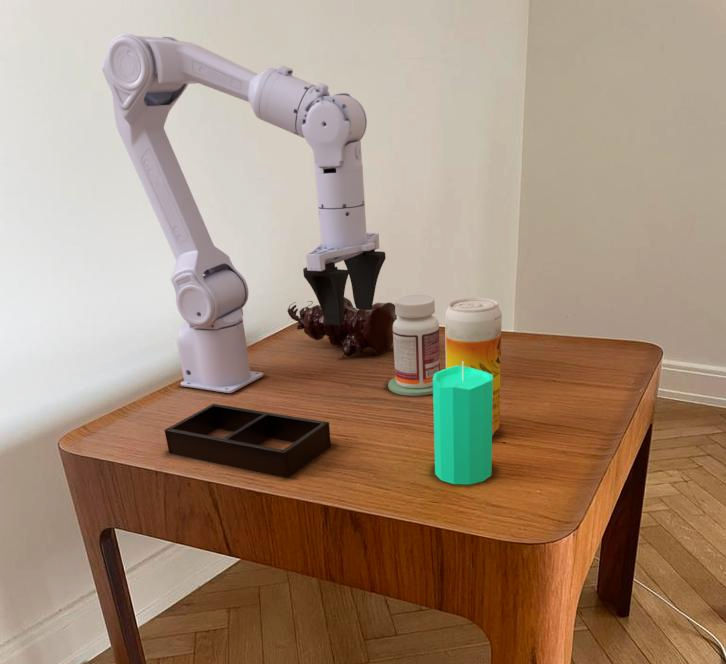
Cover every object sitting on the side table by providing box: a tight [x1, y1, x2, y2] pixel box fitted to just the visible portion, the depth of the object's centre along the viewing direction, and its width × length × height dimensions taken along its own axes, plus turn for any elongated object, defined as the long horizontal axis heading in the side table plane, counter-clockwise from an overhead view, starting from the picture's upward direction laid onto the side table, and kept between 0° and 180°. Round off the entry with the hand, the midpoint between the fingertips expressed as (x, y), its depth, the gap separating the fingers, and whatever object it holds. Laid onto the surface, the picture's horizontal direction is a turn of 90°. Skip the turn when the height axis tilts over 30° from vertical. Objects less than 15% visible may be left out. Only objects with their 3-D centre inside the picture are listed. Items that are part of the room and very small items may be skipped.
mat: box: [387, 376, 433, 397], centre depth 102 cm, size 8×8×1 cm
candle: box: [432, 361, 493, 485], centre depth 75 cm, size 6×6×12 cm
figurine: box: [287, 296, 398, 359], centre depth 118 cm, size 10×10×18 cm
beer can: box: [444, 297, 503, 436], centre depth 84 cm, size 6×6×15 cm
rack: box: [164, 403, 332, 479], centre depth 86 cm, size 17×9×3 cm, turn 61°
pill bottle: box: [392, 294, 441, 389], centre depth 99 cm, size 6×6×11 cm
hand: (349, 316), depth 97 cm, fingers open, 7 cm apart
